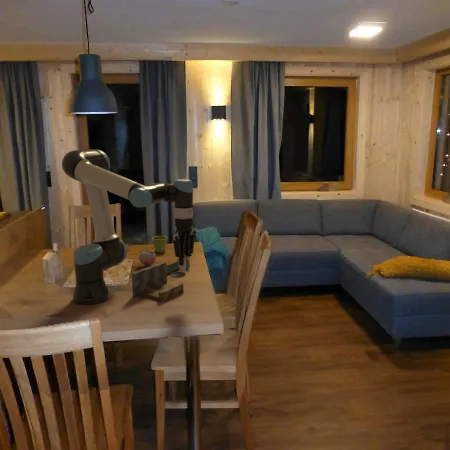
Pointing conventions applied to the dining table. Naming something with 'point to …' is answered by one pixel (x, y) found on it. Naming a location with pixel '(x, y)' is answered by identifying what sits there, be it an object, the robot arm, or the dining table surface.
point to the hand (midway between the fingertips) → (184, 271)
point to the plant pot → (159, 243)
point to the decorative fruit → (147, 257)
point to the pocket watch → (179, 274)
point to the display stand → (154, 283)
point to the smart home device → (172, 268)
